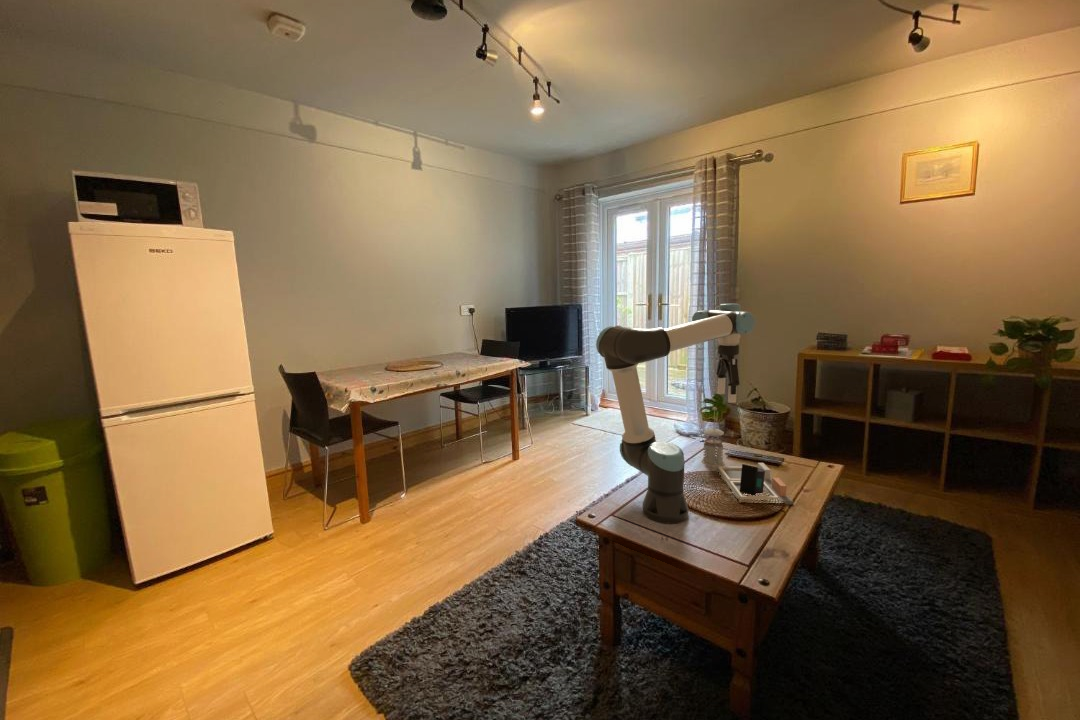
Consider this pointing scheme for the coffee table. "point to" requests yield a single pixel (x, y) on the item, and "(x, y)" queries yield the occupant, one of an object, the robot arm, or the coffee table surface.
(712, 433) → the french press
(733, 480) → the dock board
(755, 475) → the speaker
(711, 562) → the coffee table surface
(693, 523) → the coffee table surface
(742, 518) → the coffee table surface
